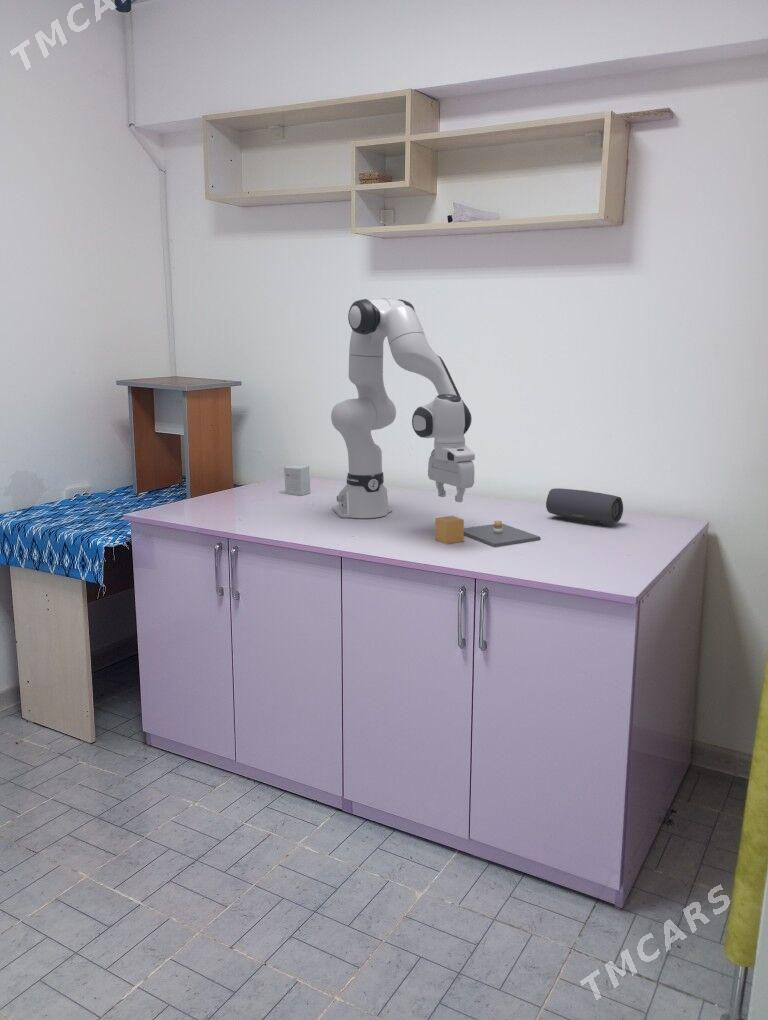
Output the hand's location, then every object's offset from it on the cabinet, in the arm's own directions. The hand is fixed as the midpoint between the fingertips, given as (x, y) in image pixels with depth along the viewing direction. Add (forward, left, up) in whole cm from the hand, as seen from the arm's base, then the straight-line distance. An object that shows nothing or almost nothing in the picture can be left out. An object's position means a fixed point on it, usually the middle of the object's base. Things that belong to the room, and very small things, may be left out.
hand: (450, 499), depth 241 cm
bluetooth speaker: (+1, +49, -13) cm, 51 cm away
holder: (+3, +15, -12) cm, 20 cm away
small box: (-90, -13, -13) cm, 92 cm away
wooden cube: (0, 0, -12) cm, 12 cm away
